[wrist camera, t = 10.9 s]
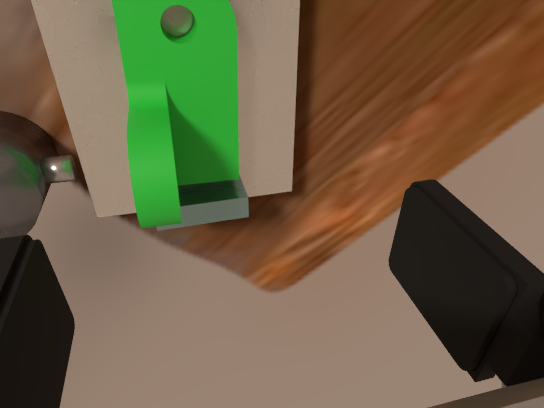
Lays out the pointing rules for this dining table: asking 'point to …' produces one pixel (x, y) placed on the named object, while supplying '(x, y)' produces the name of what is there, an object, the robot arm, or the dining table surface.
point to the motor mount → (114, 111)
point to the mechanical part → (178, 102)
